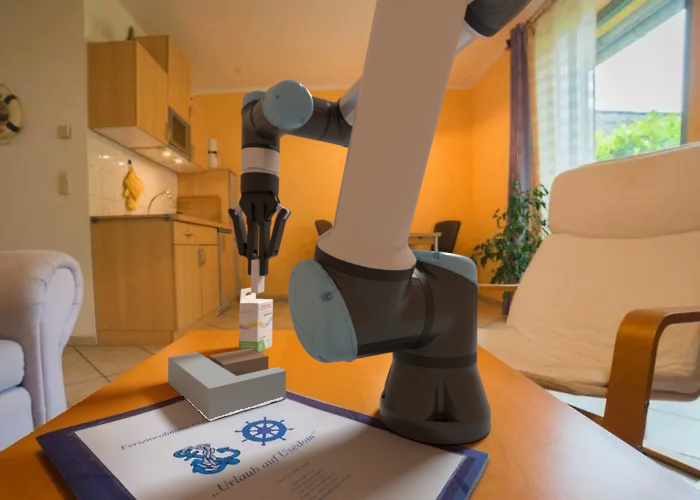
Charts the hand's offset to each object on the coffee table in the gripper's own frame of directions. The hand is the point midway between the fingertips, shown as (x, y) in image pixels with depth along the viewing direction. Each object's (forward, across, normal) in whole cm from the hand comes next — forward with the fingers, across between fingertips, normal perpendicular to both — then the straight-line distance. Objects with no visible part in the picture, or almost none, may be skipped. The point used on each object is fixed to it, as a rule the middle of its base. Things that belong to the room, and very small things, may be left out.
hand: (257, 292), depth 73 cm
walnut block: (+15, -1, +8) cm, 17 cm away
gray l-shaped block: (+15, -1, +12) cm, 19 cm away
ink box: (+16, +7, -13) cm, 22 cm away
